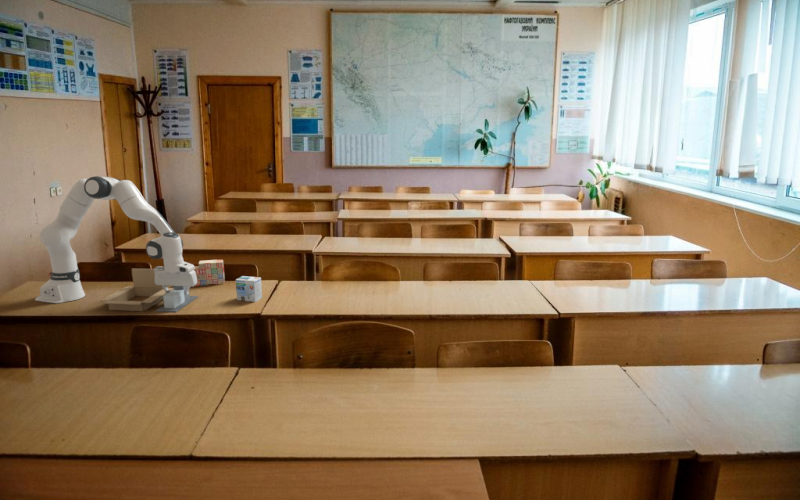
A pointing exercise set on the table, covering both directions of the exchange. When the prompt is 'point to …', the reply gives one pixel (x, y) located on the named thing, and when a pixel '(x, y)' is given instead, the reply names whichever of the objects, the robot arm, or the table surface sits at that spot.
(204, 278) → the stack of blocks
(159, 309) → the mat
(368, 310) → the table surface
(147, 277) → the carton
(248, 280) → the light bulb box
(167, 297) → the box
